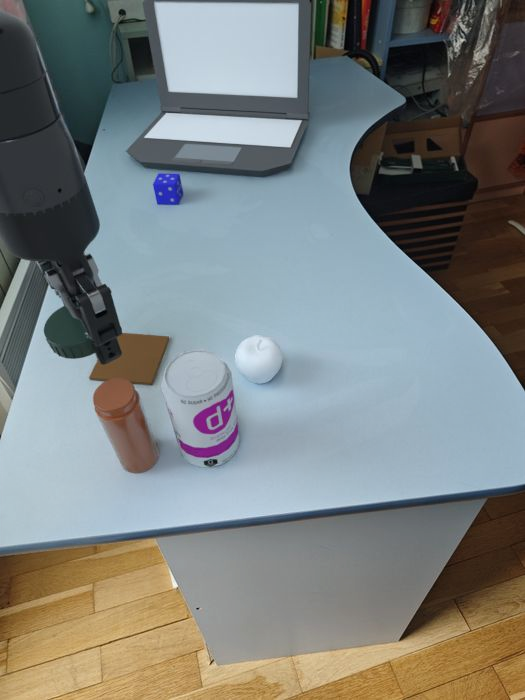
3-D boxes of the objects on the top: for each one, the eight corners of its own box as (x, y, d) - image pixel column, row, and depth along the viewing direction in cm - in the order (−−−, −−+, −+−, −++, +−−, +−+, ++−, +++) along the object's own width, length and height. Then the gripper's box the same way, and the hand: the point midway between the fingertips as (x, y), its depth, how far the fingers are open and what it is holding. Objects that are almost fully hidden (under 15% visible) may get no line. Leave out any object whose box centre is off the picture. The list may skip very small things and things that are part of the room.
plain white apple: (261, 399, 71) (258, 363, 65) (227, 375, 74) (222, 338, 69) (292, 372, 74) (293, 335, 68) (259, 350, 78) (256, 313, 72)
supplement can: (251, 448, 65) (244, 376, 54) (198, 481, 62) (179, 412, 51) (220, 409, 70) (207, 336, 59) (169, 438, 67) (146, 366, 56)
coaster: (152, 385, 74) (151, 382, 73) (89, 380, 75) (88, 377, 74) (169, 338, 80) (169, 336, 80) (112, 334, 82) (111, 331, 81)
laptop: (119, 169, 122) (78, 10, 98) (164, 119, 143) (139, -22, 119) (287, 182, 115) (287, 13, 90) (308, 127, 135) (313, -22, 111)
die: (183, 193, 113) (179, 173, 109) (178, 204, 109) (174, 184, 106) (162, 193, 113) (158, 173, 110) (157, 204, 110) (152, 184, 106)
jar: (157, 471, 63) (133, 410, 54) (118, 475, 63) (86, 413, 53) (160, 438, 67) (138, 374, 57) (122, 441, 67) (94, 377, 57)
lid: (121, 315, 49) (116, 301, 47) (101, 361, 45) (95, 347, 43) (65, 313, 49) (58, 299, 48) (40, 358, 45) (32, 344, 44)
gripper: (120, 204, 34) (165, 364, 46) (48, 137, 42) (102, 289, 54) (12, 244, 31) (90, 404, 43) (-43, 164, 39) (36, 318, 51)
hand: (97, 339), depth 48 cm, fingers closed on lid, 6 cm apart
